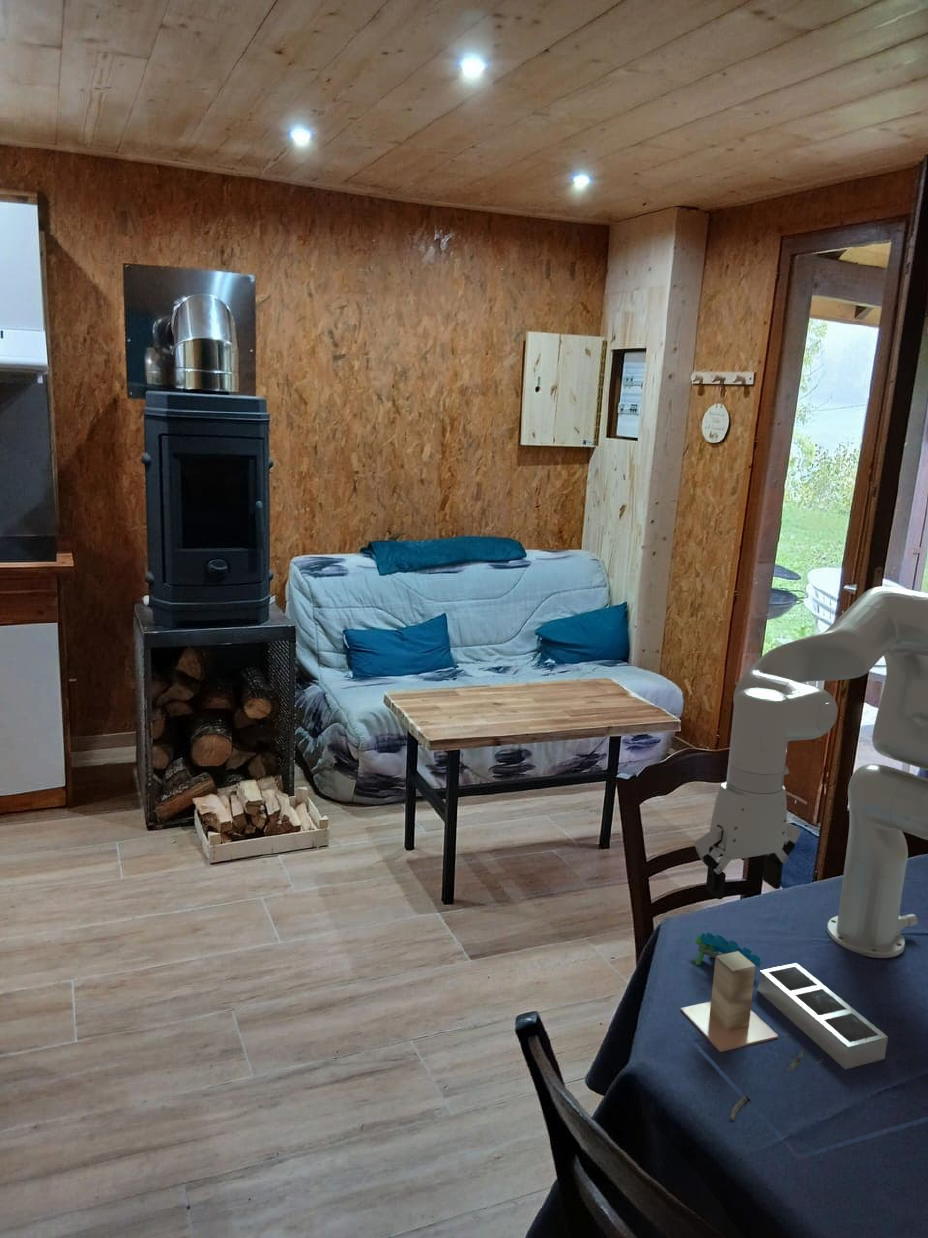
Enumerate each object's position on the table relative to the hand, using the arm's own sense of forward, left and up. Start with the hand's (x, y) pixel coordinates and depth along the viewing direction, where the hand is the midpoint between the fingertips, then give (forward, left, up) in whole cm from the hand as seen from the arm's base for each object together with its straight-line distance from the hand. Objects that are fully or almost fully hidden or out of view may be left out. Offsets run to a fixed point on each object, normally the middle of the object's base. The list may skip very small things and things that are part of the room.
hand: (743, 889), depth 134 cm
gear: (-8, -12, -22) cm, 27 cm away
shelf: (-13, +4, -22) cm, 26 cm away
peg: (0, 0, -21) cm, 21 cm away
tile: (0, 0, -22) cm, 22 cm away
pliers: (+2, +14, -23) cm, 27 cm away
